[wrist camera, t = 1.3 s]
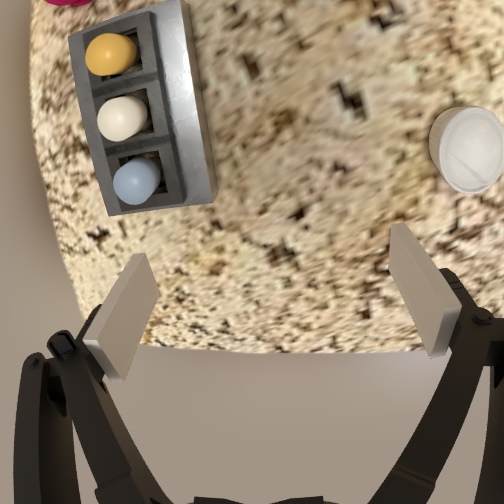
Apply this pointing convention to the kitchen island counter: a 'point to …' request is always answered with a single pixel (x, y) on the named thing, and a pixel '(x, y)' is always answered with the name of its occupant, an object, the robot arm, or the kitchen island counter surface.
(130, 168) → the blue button
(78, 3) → the pepper mill
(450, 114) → the ramekin
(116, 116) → the cream rounded cylinder
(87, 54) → the amber button
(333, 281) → the kitchen island counter surface
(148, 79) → the button console
